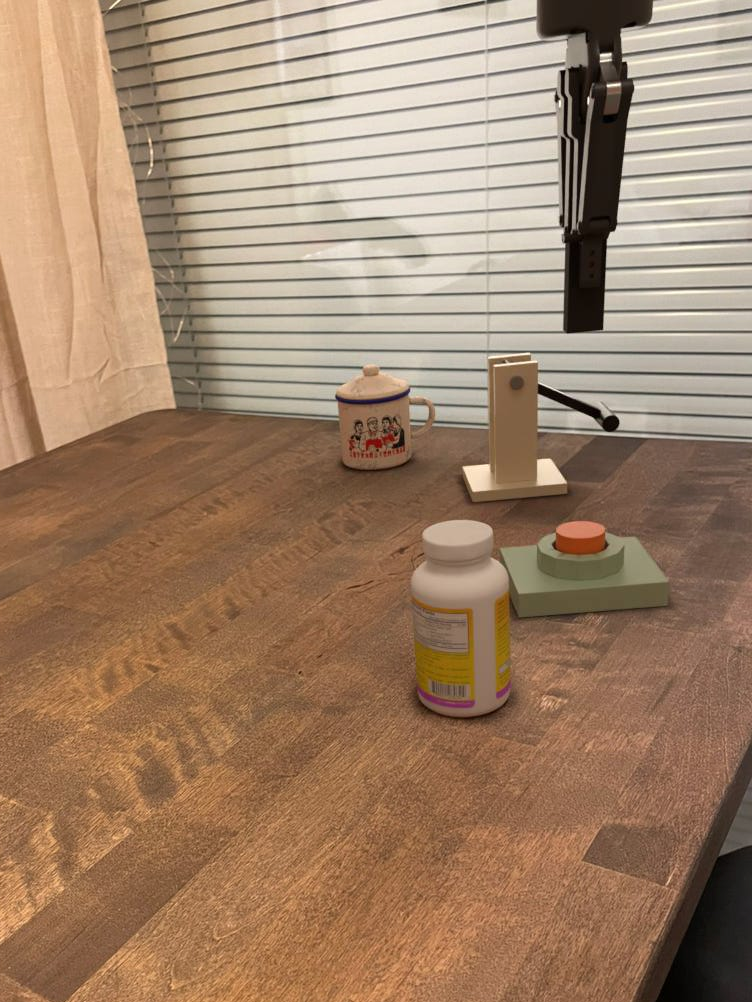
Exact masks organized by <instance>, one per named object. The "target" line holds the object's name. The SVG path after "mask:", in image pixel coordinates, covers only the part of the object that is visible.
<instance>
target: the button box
mask: <svg viewBox="0 0 752 1002" xmlns="http://www.w3.org/2000/svg"><path fill="white" fill-rule="evenodd" d="M499 562H500V563H501V564H502V565H503V566H504V568H505V569H506V571H507V573H508V577H509V598H510V599H511V602H512V604H513V607H514V610H515V612H516V614H517V617H518V618H519V619H520V618H532V617H544V616H557V615H559V616H560V615H570V614H583V613H595V612H607V611H608V612H609V611H620V610H621V611H622V610H632V609H633V610H634V609H646V608H658V607H667V606H669V596H670V595H669V593H670V580H669V579H668V578H667V576H666V574H664V572H663V571H662V569H660V567H659V565H658V564H657V563H656V561H655V560H654V559H653V558H652V557H651V555H650V554H649V552H648V551H647V550H646V548H644V546H643V544H642V543H641V541H639V539H638V538H637V537H636V536H626V537H625V536H624V537H620V536H617V535H615V534H612V533H609V532H607V531H606V533H605V550H604V551H601V552H599V553H596V554H587V555H573V554H564V553H562V552H559V551H557V550H556V532H553V533H550V534H547V535H544V536H543V537H542V538H541V539H540V540H539V541H538V542H537V543H536V544H532V545H522V546H521V545H520V546H510V547H500V548H499Z"/></svg>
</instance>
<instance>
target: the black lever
mask: <svg viewBox="0 0 752 1002" xmlns="http://www.w3.org/2000/svg"><path fill="white" fill-rule="evenodd" d="M507 363H513V362H510V361H508V360H506V359H504V361H503V363H502V364H507ZM538 395H540V396H542V397H544V398H546V399H549V400H552V401H553V402H556V403H558V404H561V405H563V406H565V407H567V408H569V409H571V410H574V411H577V412H578V413H581V414H584V415H586V416H588V417H591V418H592V419H593V420H594V421H595V422H596V423H597V424H598V425H599V426H600V428H602V429H603V431H605V432H607V433H613V432H615V431H616V430H617V429H619V427H620V423H621V421H620V418H619V417H618V416H617V414H615V413H614V412H613V411H612V410H611V409H610V408H609V407H608V406H607V405H606V404H605V403H604V402H603V401H600V400H598V401H594V402H592V403H591V404H590V403H588V402H586V401H583V400H581V399H579V398H577V397H574V396H571V395H570V394H567V393H565V392H562V391H560V390H557V389H555V388H553V387H551V386H549V385H547V384H545V383H542V382H540V381H538Z"/></svg>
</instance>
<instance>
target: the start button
mask: <svg viewBox="0 0 752 1002" xmlns="http://www.w3.org/2000/svg"><path fill="white" fill-rule="evenodd" d="M606 532H607V529H606V527H605V526H604V525H602V524H601V523H597V522H594V521H587V520H575V521H569V522H564V523H562V524H560V525H558V526H557V527H556V529H555V533H556V550H557V551H559V552H562V553H564V554H573V555H587V554H596V553H599V552H601V551H604V550H605V533H606Z"/></svg>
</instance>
